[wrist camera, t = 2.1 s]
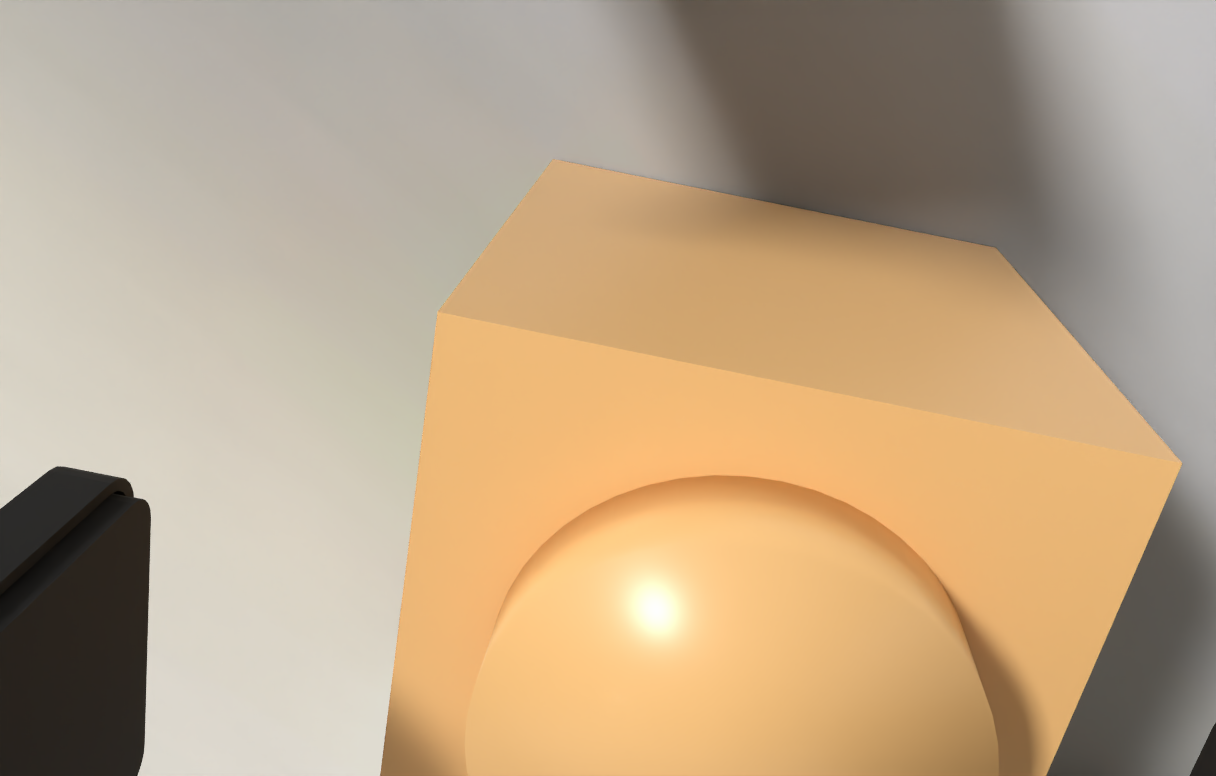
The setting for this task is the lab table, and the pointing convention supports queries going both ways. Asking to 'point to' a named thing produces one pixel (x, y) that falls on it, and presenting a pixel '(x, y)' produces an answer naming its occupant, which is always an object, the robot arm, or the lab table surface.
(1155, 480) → the orange cube with hemisphere
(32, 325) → the lab table surface
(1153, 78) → the lab table surface
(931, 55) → the lab table surface
